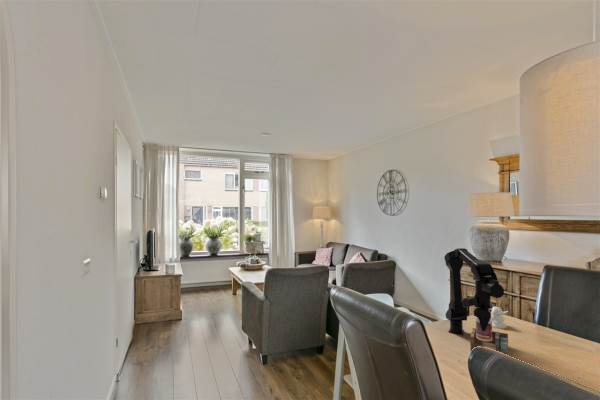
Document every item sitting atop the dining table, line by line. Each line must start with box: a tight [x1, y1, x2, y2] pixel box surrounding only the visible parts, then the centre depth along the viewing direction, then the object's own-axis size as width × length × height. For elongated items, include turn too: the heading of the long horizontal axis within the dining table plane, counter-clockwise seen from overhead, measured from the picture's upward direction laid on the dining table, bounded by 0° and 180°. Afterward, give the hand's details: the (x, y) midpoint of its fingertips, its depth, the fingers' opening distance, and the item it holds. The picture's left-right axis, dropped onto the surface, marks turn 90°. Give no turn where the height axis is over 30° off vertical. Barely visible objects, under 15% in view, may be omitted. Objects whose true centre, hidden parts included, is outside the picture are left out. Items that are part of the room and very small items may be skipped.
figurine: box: [491, 306, 509, 329], centre depth 176 cm, size 12×9×10 cm
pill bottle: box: [475, 317, 493, 341], centre depth 142 cm, size 6×6×11 cm
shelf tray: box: [469, 327, 509, 355], centre depth 146 cm, size 13×14×6 cm
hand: (483, 328), depth 142 cm, fingers closed on pill bottle, 6 cm apart
